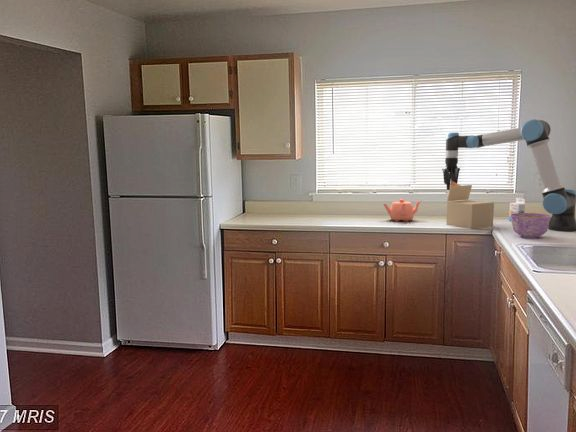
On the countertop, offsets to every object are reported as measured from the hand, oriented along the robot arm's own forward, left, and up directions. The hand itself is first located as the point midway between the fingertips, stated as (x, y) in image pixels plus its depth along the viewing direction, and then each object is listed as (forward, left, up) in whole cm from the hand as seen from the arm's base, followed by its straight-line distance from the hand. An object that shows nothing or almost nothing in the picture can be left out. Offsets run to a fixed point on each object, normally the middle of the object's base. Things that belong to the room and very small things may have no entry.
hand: (450, 194), depth 341 cm
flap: (-8, 0, +2) cm, 8 cm away
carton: (-17, 0, -17) cm, 24 cm away
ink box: (-21, -37, -17) cm, 46 cm away
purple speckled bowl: (-61, +3, -17) cm, 64 cm away
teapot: (+20, +21, -18) cm, 34 cm away
